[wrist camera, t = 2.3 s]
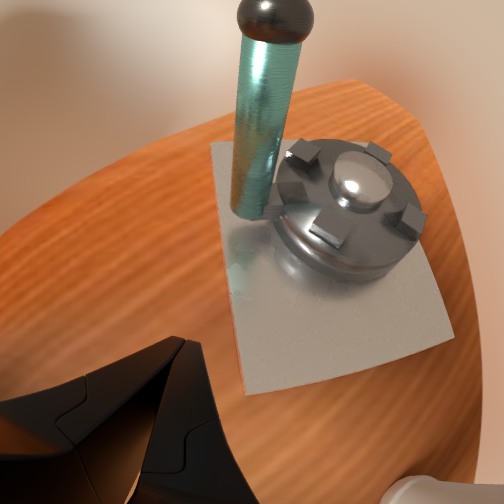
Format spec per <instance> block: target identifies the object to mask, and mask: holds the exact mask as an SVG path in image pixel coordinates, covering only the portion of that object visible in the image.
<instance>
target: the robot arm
mask: <svg viewBox="0 0 504 504" xmlns="http://www.w3.org/2000/svg"><path fill="white" fill-rule="evenodd" d="M141 467H142V468H141ZM140 469H141V472H140V476H139V479H138V483H137V486H136V488H135V491H134V493H133V495H132V496H131V498H130V499H129V501H128V502H127V504H260V503H259V502H258V500H257V499H256V497H255V495H254V493H253V492H252V490H251V488H250V486H249V485H248V483H247V481H246V479H245V477H244V475H243V474H242V472H241V470H240V468H239V466H238V464H237V462H236V460H235V458H234V456H233V454H232V452H231V450H230V447H229V445H228V443H227V440H226V437H225V434H224V431H223V428H222V424H221V421H220V419H219V414H218V411H217V407H216V403H215V399H214V396H213V392H212V388H211V384H210V380H209V376H208V372H207V368H206V364H205V359H204V355H203V351H202V346H201V343H200V342H196V341H192V340H185V339H184V338H180V337H176V336H170V337H168V338H166V339H164V340H162V341H160V342H157V343H155V344H153V345H151V346H149V347H147V348H144V349H142V350H140V351H138V352H136V353H133V354H131V355H129V356H127V357H125V358H122V359H120V360H118V361H116V362H113V363H111V364H109V365H107V366H104V367H102V368H100V369H98V370H95V371H93V372H91V373H88V374H86V375H85V376H81V377H79V378H76V379H74V380H71V381H69V382H66V383H64V384H61V385H58V386H55V387H52V388H49V389H46V390H43V391H39V392H36V393H32V394H28V395H25V396H21V397H17V398H13V399H9V400H5V401H1V402H0V504H124V502H125V500H126V498H127V496H128V494H129V492H130V490H131V488H132V486H133V484H134V482H135V480H136V478H137V475H138V473H139V471H140Z"/></svg>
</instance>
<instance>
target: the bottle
mask: <svg viewBox="0 0 504 504" xmlns="http://www.w3.org/2000/svg"><path fill="white" fill-rule="evenodd" d="M379 504H504V485H494V484H493V485H492V484H489V485H488V484H469V483H456V482H446V481H437V479H435V478H433V477H431V476H427V475H416V476H407V477H405V478H403V479H400V480H398V481H396V482H395V483H394V484H393V485H392V486H391V487H389V488H388V489H387V491H386V492H385V494H384V495H383V497H382V498H381V500H380V503H379Z"/></svg>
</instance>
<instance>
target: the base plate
mask: <svg viewBox="0 0 504 504" xmlns="http://www.w3.org/2000/svg"><path fill="white" fill-rule="evenodd" d="M297 141H298V140H282V141H281V146H280V151H279V155H278V160H277V165H276V169H275V174H274V179H273V183H275V181H276V176H277V172H278V168H279V165H280V163H281V161H282V159H283V158H284V156H285V155H286V153H287V150H288V149H290V148H291V147H292V146H293V145H294V144H295V143H296V142H297ZM306 141H312V140H306ZM347 142H351V141H347ZM233 143H234V141H224V142H210V159H211V168H212V176H213V185H214V193H215V201H216V209H217V217H218V225H219V233H220V240H221V248H222V255H223V262H224V270H225V277H226V284H227V291H228V297H229V304H230V311H231V318H232V324H233V330H234V337H235V343H236V349H237V356H238V362H239V368H240V374H241V380H242V386H243V392H244V396H251V395H257V394H263V393H269V392H275V391H280V390H285V389H290V388H295V387H300V386H305V385H309V384H314V383H318V382H322V381H326V380H331V379H334V378H338V377H342V376H346V375H350V374H353V373H357V372H360V371H364V370H367V369H371V368H374V367H377V366H380V365H383V364H387V363H390V362H393V361H396V360H399V359H402V358H405V357H407V356H410V355H413V354H416V353H418V352H421V351H424V350H426V349H429V348H432V347H434V346H437V345H439V344H442V343H444V342H446V341H448V340H450V339H452V338H454V337H455V336H454V333H453V330H452V326H451V323H450V320H449V317H448V314H447V311H446V308H445V305H444V302H443V299H442V296H441V293H440V291H439V288H438V285H437V283H436V280H435V277H434V275H433V272H432V270H431V267H430V265H429V262H428V260H427V257H426V255H425V253H424V250H423V248H422V246H421V243H420V241H419V240H418V242H417V243H416V245H415V246H414V247H413V248H412V249H411V250H410V252H409V253H408V254H407V255H406V256H405V257H404V258H403V259H402V260H401V261H400V262H399V263H398V264H397V265H396V266H395V267H394V268H393V269H392V270H391V271H389V272H388V273H386V274H385V275H383V276H381V277H379V278H376V279H373V280H368V281H360V282H354V281H344V280H339V279H335V278H332V277H329V276H326V275H324V274H322V273H319V272H317V271H316V270H314V269H312V268H310V267H309V266H307V265H306V264H305V263H303V262H302V261H301V260H299V259H298V258H297V257H296V256H295V255H294V254H293V253H292V252H291V251H290V250H289V249H288V248H287V246H286V245H285V244H284V242H283V241H282V239H281V238H280V236H279V234H278V232H277V230H276V228H275V226H274V223H273V220H259V221H250V220H246V219H242V218H240V217H238V216H236V215H235V214H234V213H233V212H232V210H231V208H230V191H231V174H232V158H233ZM351 143H355V144H357V145H360V146H363V147H365V148H366V147H367V146H368V143H366V142H351Z"/></svg>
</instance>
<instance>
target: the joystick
mask: <svg viewBox="0 0 504 504" xmlns="http://www.w3.org/2000/svg"><path fill="white" fill-rule="evenodd" d="M237 22H238V25H239V28H240V30H241V32H242V43H241V54H240V65H239V78H238V89H237V102H236V115H235V129H234V143H233V158H232V174H231V191H230V208H231V210H232V212H233V213H234V214H235V215H236V216H238V217H240V218H242V219H246V220H250V221H259V220H273V223H274V226H275V228H276V230H277V232H278V234H279V236H280V238H281V239H282V241H283V242H284V244H285V245H286V246H287V248H288V249H289V250H290V251H291V252H292V253H293V254H294V255H295V256H296V257H297V258H298V259H299V260H301V261H302V262H303V263H305V264H306V265H307V266H309V267H310V268H312V269H314V270H316V271H317V272H319V273H322V274H324V275H326V276H329V277H332V278H335V279H339V280H344V281H354V282H360V281H368V280H373V279H376V278H379V277H381V276H383V275H385V274H386V273H388V272H389V271H391V270H392V269H393V268H394V267H395V266H396V265H397V264H398V263H399V262H400V261H401V260H402V259H403V258H404V257H405V256H406V255H407V254H408V253H409V252H410V250H411V249H412V248H413V247H414V246H415V245H416V243H417V242H418V240H419V238H420V235H421V234H422V231H423V227H424V224H425V221H426V218H427V215H426V214H424V213H423V212H422V209H421V205H420V202H419V199H418V197H417V195H416V193H415V191H414V189H413V188H412V186H411V184H410V183H409V182H408V180H407V179H406V178H405V176H404V175H403V174H402V173H401V172H400V171H399V170H398V169H397V168H396V167H395V166H394V165H393V164H391V163H390V162H389V160H390V158H391V156H392V154H391V153H389V152H388V151H386V150H385V149H383V148H381V147H380V146H378V145H376V144H375V143H373V142H370V143H369V144H368V146H367V147H366V148H365V147H363V146H360V145H357V144H355V143H351V142H347V141H342V140H335V139H319V140H312V141H306V140H304V139H302V138H301V139H299V140H298V141H297V142H296V143H295V144H294V145H293V146H292V147H291V148H290V149H288V150H287V153H286V155H285V156H284V158H283V159H282V161H281V163H280V165H279V168H278V172H277V176H276V181H275V183H273V179H274V174H275V169H276V165H277V160H278V155H279V151H280V146H281V141H282V137H283V132H284V127H285V122H286V118H287V113H288V108H289V104H290V99H291V94H292V89H293V85H294V80H295V75H296V70H297V65H298V61H299V56H300V51H301V46H302V42H303V41H304V40H305V39H306V38H307V36H308V35H309V34H310V32H311V30H312V28H313V23H314V13H313V9H312V7H311V5H310V3H309V1H308V0H242V1H241V3H240V5H239V7H238V11H237Z"/></svg>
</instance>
